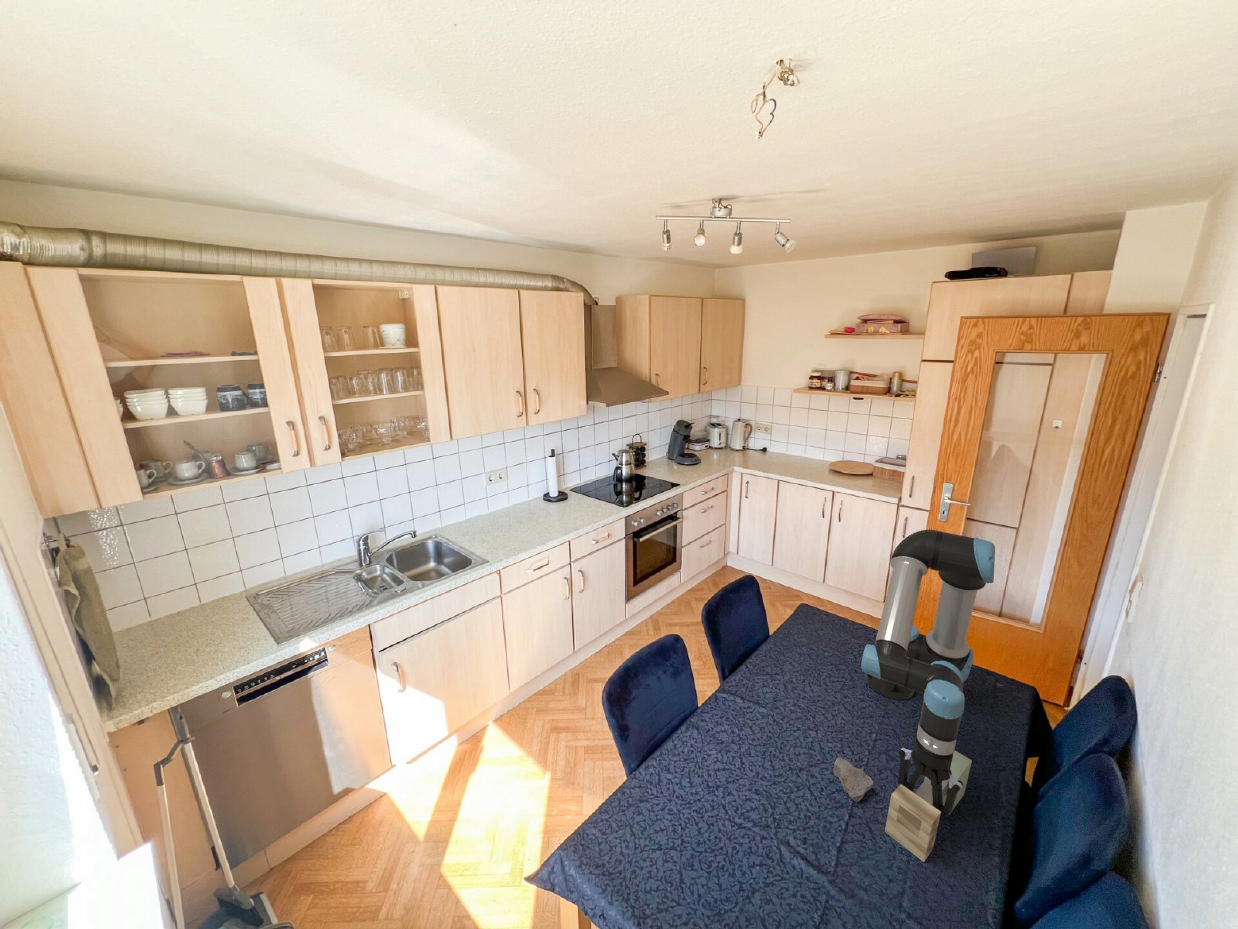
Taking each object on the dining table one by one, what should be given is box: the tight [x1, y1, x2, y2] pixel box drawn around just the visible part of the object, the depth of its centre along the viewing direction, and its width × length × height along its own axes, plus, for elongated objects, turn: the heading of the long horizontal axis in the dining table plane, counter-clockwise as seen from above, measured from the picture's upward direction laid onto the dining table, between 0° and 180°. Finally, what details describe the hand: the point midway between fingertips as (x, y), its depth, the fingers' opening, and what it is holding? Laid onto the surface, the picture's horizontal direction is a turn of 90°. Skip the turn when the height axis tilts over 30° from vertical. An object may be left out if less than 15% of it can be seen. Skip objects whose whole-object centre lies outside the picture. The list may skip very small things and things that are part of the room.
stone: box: [832, 756, 874, 803], centre depth 132 cm, size 8×10×6 cm
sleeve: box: [923, 750, 973, 817], centre depth 129 cm, size 10×7×11 cm, turn 127°
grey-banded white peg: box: [915, 778, 950, 805], centre depth 121 cm, size 18×4×4 cm, turn 127°
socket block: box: [884, 784, 942, 863], centre depth 117 cm, size 5×9×12 cm, turn 37°
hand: (919, 820), depth 121 cm, fingers closed on grey-banded white peg, 4 cm apart
